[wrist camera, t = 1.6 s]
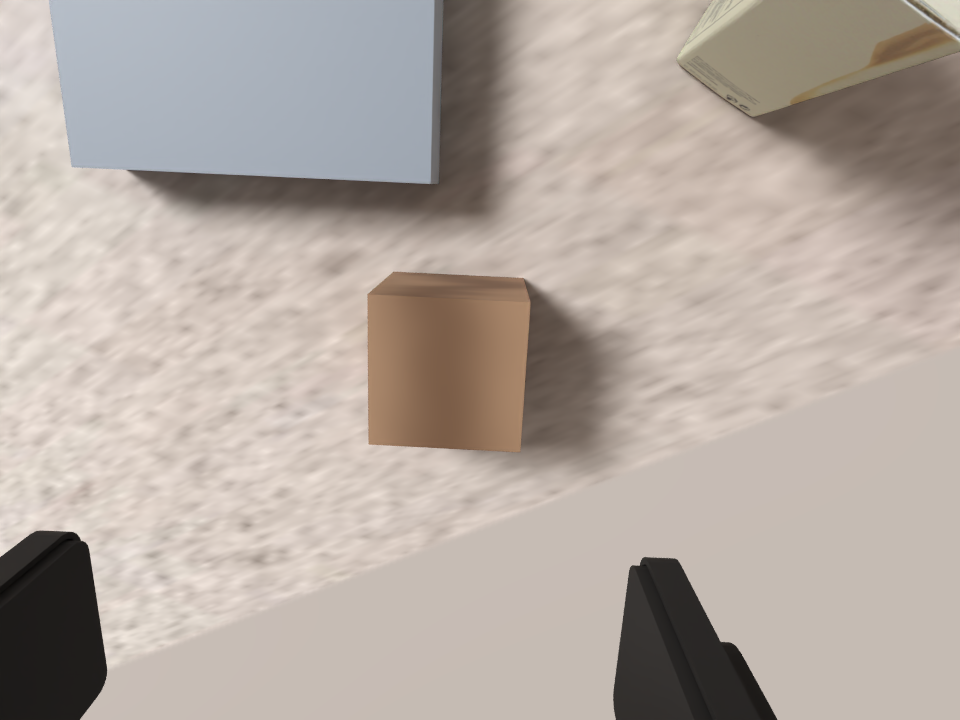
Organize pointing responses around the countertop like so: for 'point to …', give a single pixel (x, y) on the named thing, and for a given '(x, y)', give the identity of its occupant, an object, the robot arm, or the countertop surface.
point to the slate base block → (253, 86)
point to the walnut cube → (447, 361)
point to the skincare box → (813, 46)
